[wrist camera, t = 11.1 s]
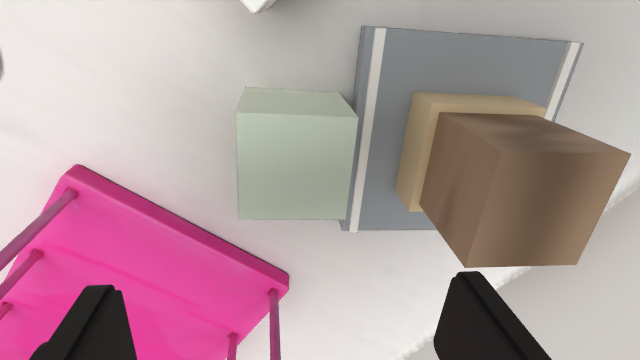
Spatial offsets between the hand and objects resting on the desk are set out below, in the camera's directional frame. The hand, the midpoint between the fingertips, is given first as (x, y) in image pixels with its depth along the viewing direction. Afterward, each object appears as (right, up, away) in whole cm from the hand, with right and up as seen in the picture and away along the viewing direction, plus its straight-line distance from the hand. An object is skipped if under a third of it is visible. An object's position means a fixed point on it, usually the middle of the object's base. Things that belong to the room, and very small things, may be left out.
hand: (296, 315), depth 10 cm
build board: (+10, +7, +15) cm, 19 cm away
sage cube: (-1, +7, +13) cm, 15 cm away
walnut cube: (+10, +5, +11) cm, 16 cm away
